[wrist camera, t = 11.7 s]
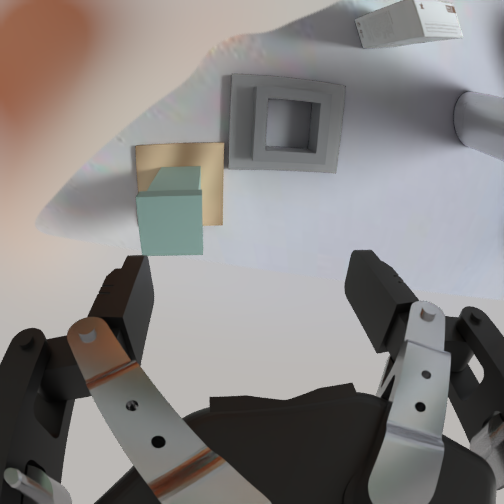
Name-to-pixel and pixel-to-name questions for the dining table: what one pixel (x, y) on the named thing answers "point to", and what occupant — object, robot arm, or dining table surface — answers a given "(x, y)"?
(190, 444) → the robot arm
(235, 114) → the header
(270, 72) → the dining table surface
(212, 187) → the cork pad
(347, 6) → the dining table surface
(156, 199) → the plug
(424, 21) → the skincare box
